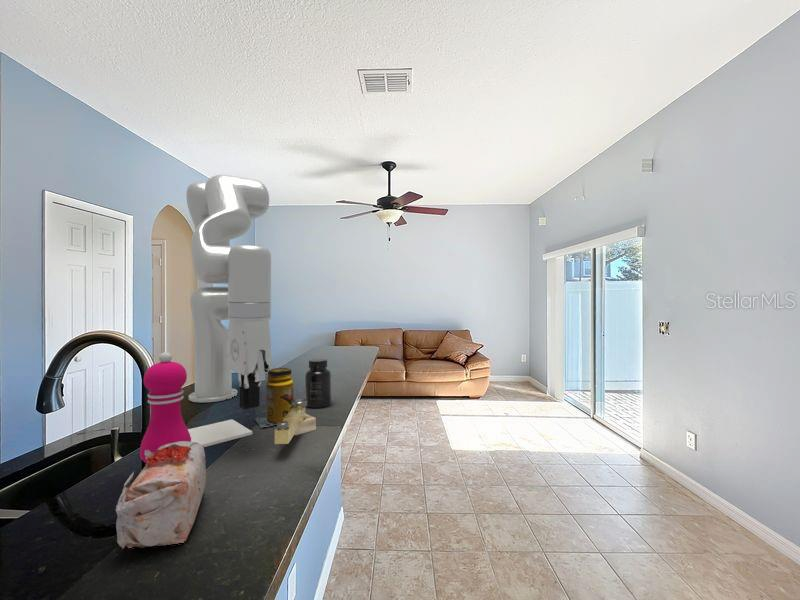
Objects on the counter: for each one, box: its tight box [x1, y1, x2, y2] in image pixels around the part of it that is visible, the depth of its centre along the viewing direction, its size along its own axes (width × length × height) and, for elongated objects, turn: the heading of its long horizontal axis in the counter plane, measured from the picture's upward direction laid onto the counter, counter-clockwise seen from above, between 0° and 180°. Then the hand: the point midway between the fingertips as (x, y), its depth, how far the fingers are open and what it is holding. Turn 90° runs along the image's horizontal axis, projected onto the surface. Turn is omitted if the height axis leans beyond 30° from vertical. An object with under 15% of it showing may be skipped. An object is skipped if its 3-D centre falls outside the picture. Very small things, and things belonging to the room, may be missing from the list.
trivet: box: [187, 419, 253, 448], centre depth 80 cm, size 11×11×1 cm
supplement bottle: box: [304, 358, 332, 409], centre depth 101 cm, size 7×7×12 cm
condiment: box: [257, 367, 294, 424], centre depth 88 cm, size 7×8×12 cm
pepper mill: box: [139, 351, 191, 465], centre depth 62 cm, size 7×7×20 cm
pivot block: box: [293, 413, 317, 436], centre depth 82 cm, size 5×5×2 cm
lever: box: [274, 398, 307, 445], centre depth 76 cm, size 3×17×3 cm, turn 3°
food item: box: [115, 441, 207, 550], centre depth 49 cm, size 14×8×10 cm, turn 20°
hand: (249, 406), depth 72 cm, fingers closed
